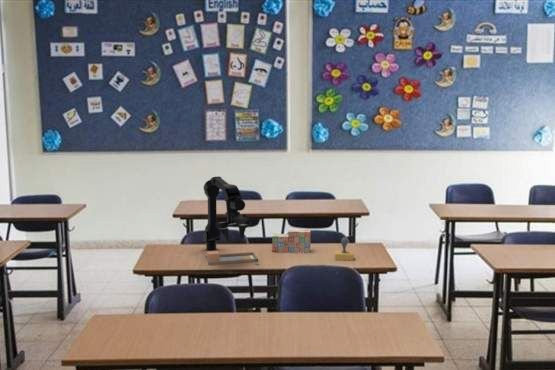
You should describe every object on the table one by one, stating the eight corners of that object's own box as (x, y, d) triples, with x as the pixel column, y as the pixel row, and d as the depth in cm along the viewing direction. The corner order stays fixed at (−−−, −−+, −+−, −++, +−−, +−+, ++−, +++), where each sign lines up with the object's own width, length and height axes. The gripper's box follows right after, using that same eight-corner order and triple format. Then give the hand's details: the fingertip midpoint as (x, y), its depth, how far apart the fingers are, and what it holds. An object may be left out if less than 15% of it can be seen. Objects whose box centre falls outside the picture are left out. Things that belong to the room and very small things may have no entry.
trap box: (205, 260, 336) (205, 255, 336) (253, 257, 342) (253, 252, 341) (208, 267, 324) (208, 262, 323) (258, 264, 329) (258, 258, 329)
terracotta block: (207, 258, 334) (207, 251, 333) (218, 258, 335) (218, 250, 335) (208, 261, 329) (208, 254, 329) (219, 260, 331) (219, 253, 330)
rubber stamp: (334, 260, 336) (335, 238, 334) (334, 257, 342) (335, 235, 339) (353, 260, 335) (354, 239, 333) (353, 257, 341) (353, 236, 339)
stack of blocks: (271, 252, 351) (271, 231, 349) (273, 249, 358) (272, 228, 355) (310, 253, 349) (310, 231, 347) (310, 250, 356) (310, 229, 353)
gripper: (226, 212, 311) (229, 243, 311) (256, 208, 323) (258, 238, 323) (213, 212, 319) (216, 242, 320) (243, 208, 331) (245, 237, 332)
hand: (234, 240), depth 324 cm, fingers open, 9 cm apart
